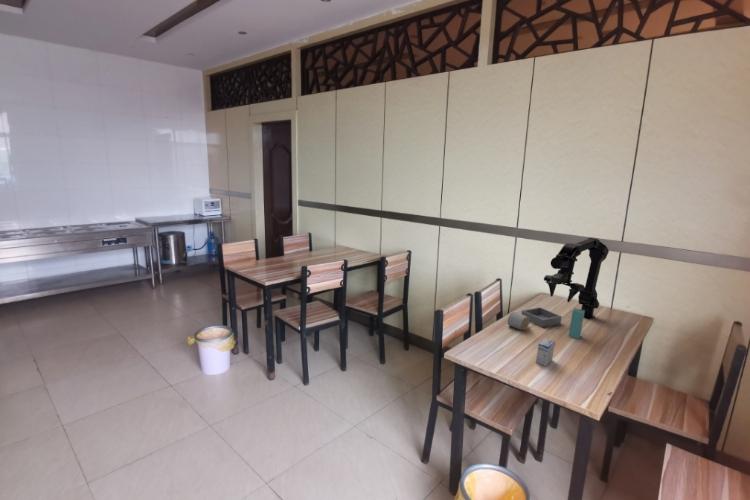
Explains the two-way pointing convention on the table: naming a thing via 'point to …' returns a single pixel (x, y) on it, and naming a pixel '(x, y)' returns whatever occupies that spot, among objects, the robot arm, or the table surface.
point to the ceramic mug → (518, 320)
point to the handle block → (576, 323)
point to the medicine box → (545, 352)
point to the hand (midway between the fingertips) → (559, 299)
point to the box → (542, 317)
